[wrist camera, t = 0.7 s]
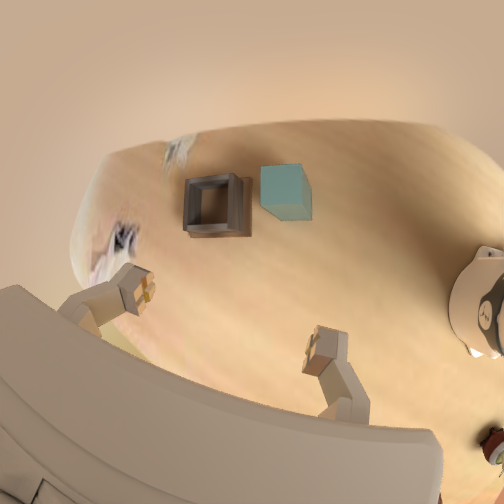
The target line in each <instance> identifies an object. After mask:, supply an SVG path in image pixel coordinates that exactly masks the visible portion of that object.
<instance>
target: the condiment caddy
mask: <svg viewBox="0 0 504 504" xmlns="http://www.w3.org/2000/svg"><path fill="white" fill-rule="evenodd" d="M251 227H252V178H251V177H245V178H239V177H237V176H236V175H235V174H234V173H233V174H224V175H215V176H207V177H199V178H192V179H186V182H185V198H184V216H183V231H187V232H191V237H190V238H216V237H251Z"/></svg>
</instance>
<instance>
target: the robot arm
mask: <svg viewBox="0 0 504 504" xmlns="http://www.w3.org/2000/svg"><path fill="white" fill-rule="evenodd" d="M488 253H490V256H488ZM153 279H154V274H153V272H151V271H148V270H146V269H143V268H141V267H138V266H136V265H133V264H131V263H125V264H124V265H123V266H122V268H121V269H120V270H119V271H118V272H117V273H116V274H115V275H114V277H113V278H112V279H111V280H110V281H109V282H107V281H106V282H103V283H101V284H98V285H96V286H93V287H91V288H88V289H86V290H83V291H81V292H78V293H76V294H73V295H71V296H70V297H69V298H68V299H67V300H66V301H65V302H64V303H63V305H62V306H61V307H60V308H59V309H58V311H55V310H54V309H52V308H51V307H49V306H48V305H46V304H45V303H44V302H42V301H41V300H39V299H38V298H37V297H35V296H34V295H32V294H31V293H30V292H28V291H27V290H26V289H24V288H23V287H22V286H20V285H12V286H9V287H6V288H4V289H1V290H0V504H437V503H438V499H439V494H440V489H441V483H442V477H443V468H444V451H443V449H442V447H441V445H440V443H439V441H438V440H437V438H436V436H435V435H434V433H433V432H432V431H431V430H430V429H425V428H400V427H386V426H376V425H369V414H370V399H369V398H368V396H367V394H366V392H365V390H364V388H363V386H362V384H361V383H360V381H359V379H358V377H357V375H356V373H355V372H354V370H353V368H352V366H351V364H350V363H349V362H347V353H348V333H346V332H343V331H339V330H336V329H332V328H328V327H324V326H320V325H317V326H316V328H315V329H314V334H312V335H311V336H310V338H309V341H308V343H307V347H306V351H305V354H306V358H305V360H304V362H303V367H302V373H305V374H309V375H313V376H316V377H318V380H319V382H320V385H321V388H322V390H323V393H324V396H325V399H326V401H327V404H328V408H327V409H325V410H324V411H323V412H322V413H320V414H319V415H318V417H315V416H310V415H305V414H300V413H296V412H292V411H287V410H283V409H279V408H275V407H271V406H268V405H264V404H260V403H257V402H253V401H250V400H247V399H243V398H240V397H237V396H234V395H231V394H227V393H224V392H222V391H219V390H216V389H213V388H210V387H207V386H205V385H202V384H199V383H196V382H194V381H191V380H189V379H186V378H184V377H181V376H179V375H176V374H174V373H171V372H169V371H167V370H164V369H162V368H160V367H158V366H155V365H153V364H151V363H149V362H147V361H145V360H142V359H140V358H138V357H136V356H134V355H132V354H130V353H128V352H126V351H124V350H122V349H120V348H118V347H116V346H114V345H112V344H111V343H109V342H107V341H105V340H103V339H101V337H102V335H101V333H100V331H99V328H98V327H100V326H101V325H103V324H105V323H107V322H108V321H110V320H112V319H114V318H116V317H117V316H119V315H121V314H123V313H124V312H126V311H127V312H130V313H132V314H134V315H137V316H140V315H141V314H142V312H143V311H144V309H145V308H146V304H145V303H147V302H149V301H151V299H152V298H153V295H154V293H155V283H154V282H153ZM449 318H450V323H451V326H452V328H453V331H454V332H455V334H456V335H457V337H458V338H459V339H460V340H462V341H463V342H464V343H465V344H466V345H467V348H468V350H469V353H470V354H471V356H473V357H479V356H481V355H486V356H488V357H490V358H492V359H496V358H497V357H498V356H502V357H504V251H501V250H498V249H495V248H491V247H488V246H481V247H480V248H479V249H478V251H477V253H476V255H475V258H474V260H473V261H472V262H471V263H470V264H469V265H468V266H467V267H466V268H465V269H464V270H463V271H462V272H461V273H460V275H459V276H458V278H457V280H456V282H455V284H454V286H453V289H452V292H451V296H450V301H449Z"/></svg>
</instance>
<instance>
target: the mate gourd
mask: <svg viewBox="0 0 504 504" xmlns="http://www.w3.org/2000/svg"><path fill="white" fill-rule="evenodd" d="M503 430H504V429H503V428H502V429H500V430H499V431H498V432H496V431H494V428H493V427H492V428H491V429H490V437H489V438H487V439H486V440H484V441H483V442H481V443H480V446H482V449H483V453H484V456H485V458H486V460H487V461H488V462H489V463H490V464H491V465H499V464H503V466H502V469H503V471H502V472H501V474H500V476H501V475H502V474H503V473H504V431H503ZM500 476H499V477H500Z"/></svg>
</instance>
